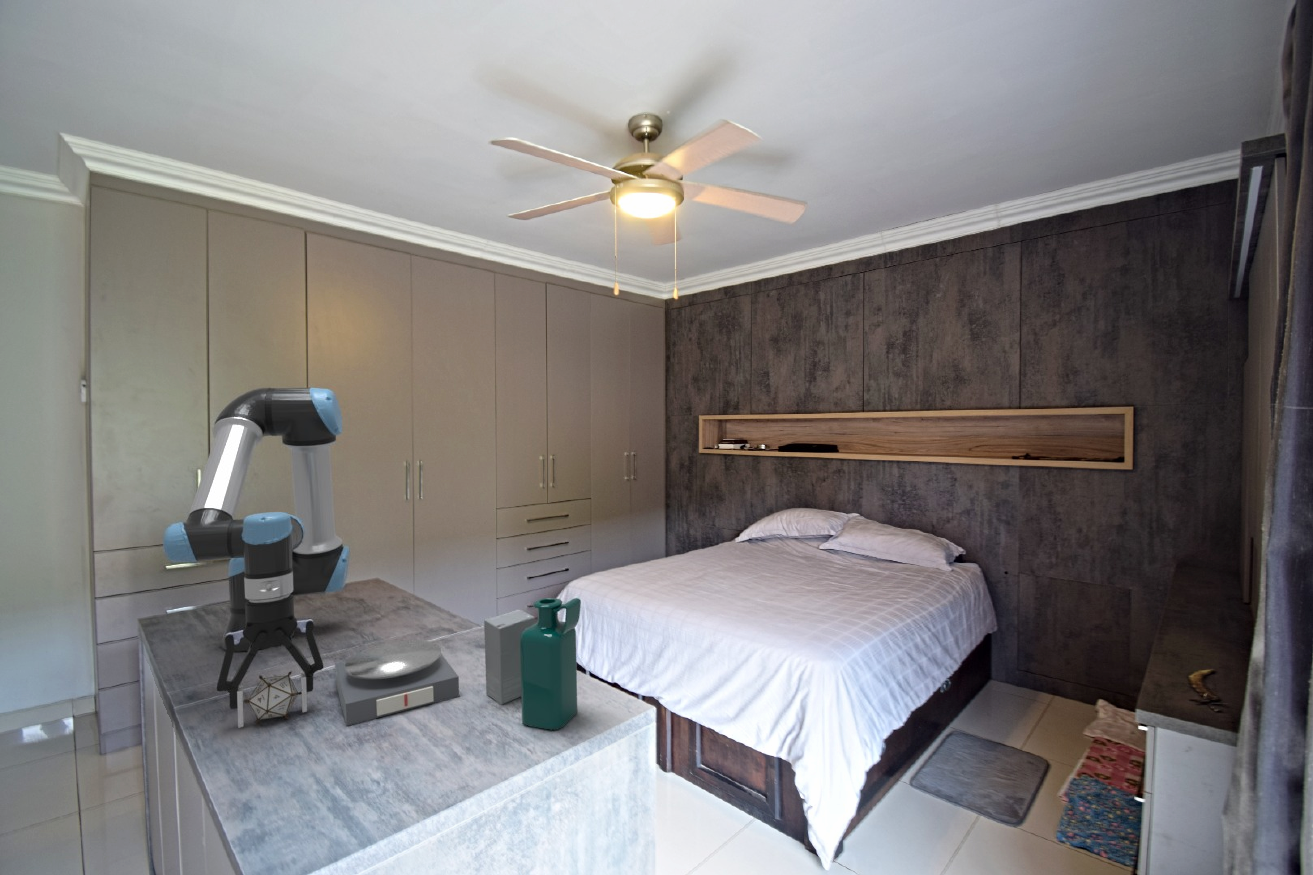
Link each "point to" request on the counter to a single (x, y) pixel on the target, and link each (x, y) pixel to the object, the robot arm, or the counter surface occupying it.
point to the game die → (273, 697)
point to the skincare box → (504, 654)
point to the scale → (394, 691)
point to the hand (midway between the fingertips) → (273, 716)
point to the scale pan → (393, 659)
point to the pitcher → (549, 665)
